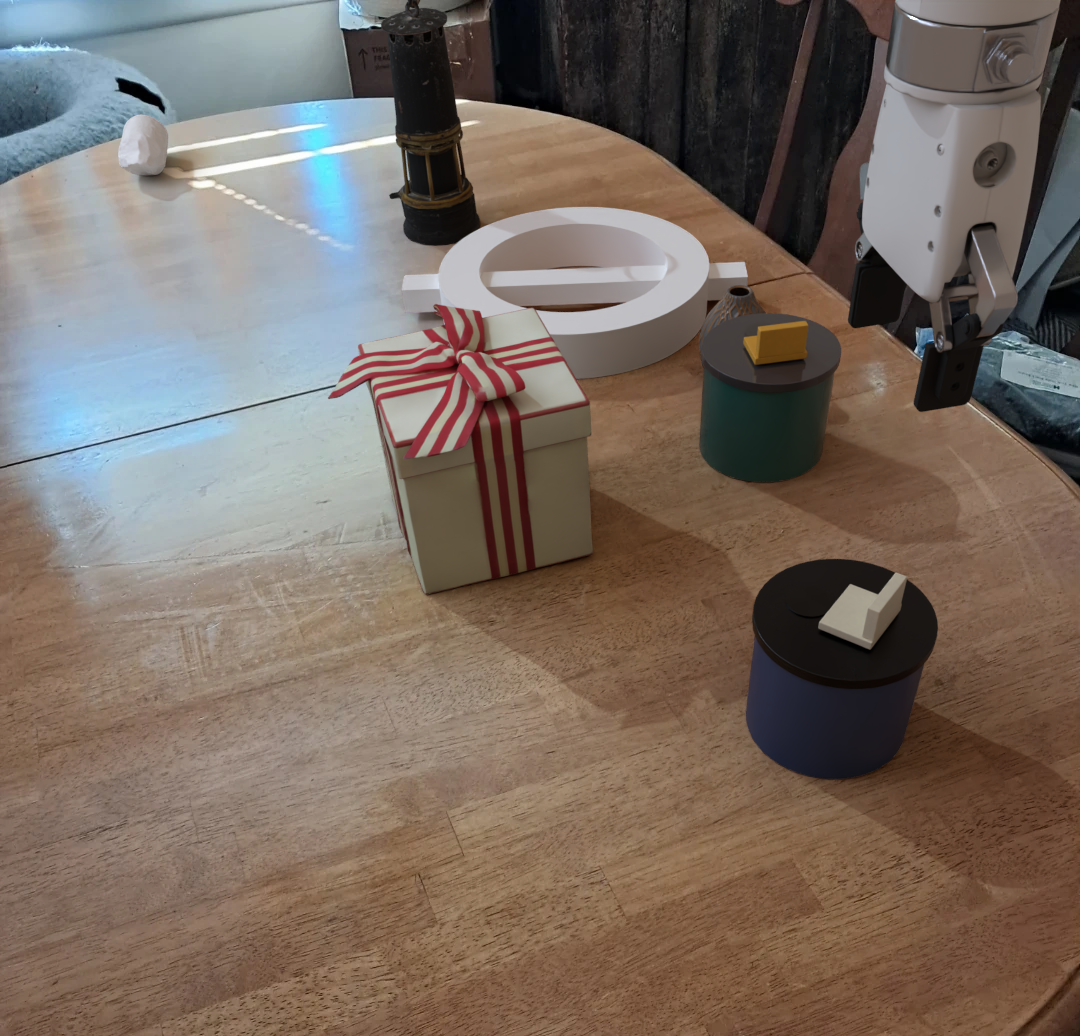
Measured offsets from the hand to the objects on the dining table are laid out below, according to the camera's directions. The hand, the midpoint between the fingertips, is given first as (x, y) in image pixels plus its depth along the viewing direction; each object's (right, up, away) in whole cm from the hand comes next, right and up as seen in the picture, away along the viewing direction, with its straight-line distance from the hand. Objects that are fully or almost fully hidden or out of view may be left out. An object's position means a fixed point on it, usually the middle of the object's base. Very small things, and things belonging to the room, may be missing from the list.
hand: (905, 362), depth 69 cm
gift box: (-27, -6, +29) cm, 40 cm away
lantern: (-33, +37, +69) cm, 85 cm away
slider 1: (-2, +9, +27) cm, 29 cm away
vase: (-3, +12, +44) cm, 45 cm away
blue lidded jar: (-2, -21, +12) cm, 25 cm away
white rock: (-74, +51, +85) cm, 124 cm away
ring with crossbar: (-18, +22, +54) cm, 61 cm away
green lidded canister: (-2, +3, +35) cm, 35 cm away
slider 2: (-1, -15, +5) cm, 16 cm away
